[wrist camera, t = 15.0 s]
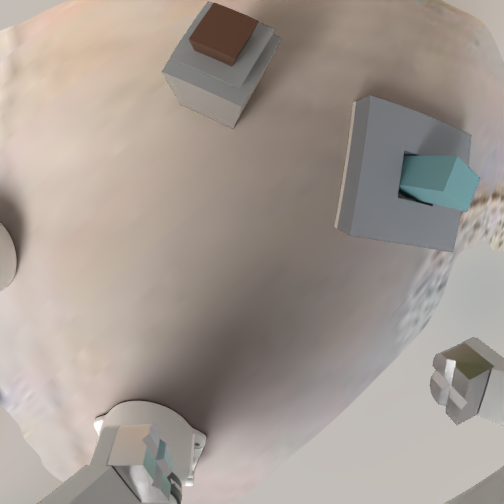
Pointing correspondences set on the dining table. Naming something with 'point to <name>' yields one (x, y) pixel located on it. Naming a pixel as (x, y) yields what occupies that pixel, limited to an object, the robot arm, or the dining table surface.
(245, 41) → the perfume bottle
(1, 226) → the saucepan
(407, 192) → the peg
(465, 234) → the dining table surface
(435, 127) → the socket block
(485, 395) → the robot arm
